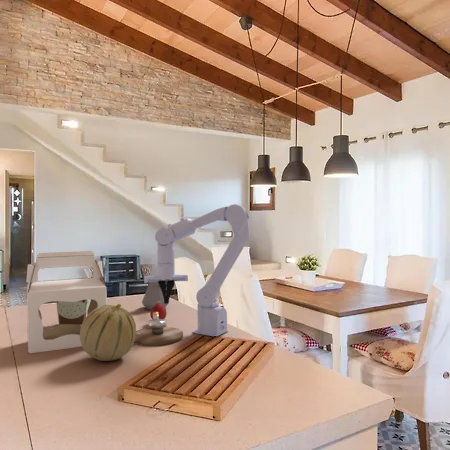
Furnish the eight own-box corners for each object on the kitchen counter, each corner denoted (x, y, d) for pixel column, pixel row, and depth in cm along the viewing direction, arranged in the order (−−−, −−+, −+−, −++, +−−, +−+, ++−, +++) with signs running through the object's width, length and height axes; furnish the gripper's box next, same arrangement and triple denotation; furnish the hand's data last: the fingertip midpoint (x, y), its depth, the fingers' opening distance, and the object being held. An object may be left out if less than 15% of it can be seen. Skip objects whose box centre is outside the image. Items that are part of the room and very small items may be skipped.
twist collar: (167, 327, 129) (167, 321, 129) (149, 328, 128) (149, 322, 128) (163, 317, 143) (163, 311, 143) (147, 318, 142) (147, 312, 142)
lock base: (192, 335, 134) (192, 324, 134) (160, 348, 120) (160, 336, 120) (155, 328, 142) (155, 318, 142) (121, 340, 129) (121, 329, 129)
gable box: (27, 354, 116) (26, 255, 116) (26, 341, 128) (25, 252, 128) (107, 343, 126) (107, 252, 126) (100, 332, 138) (99, 249, 138)
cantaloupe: (79, 354, 116) (78, 301, 116) (132, 348, 121) (132, 297, 121) (80, 372, 102) (80, 312, 102) (140, 364, 107) (140, 307, 107)
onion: (158, 326, 145) (157, 303, 145) (147, 323, 149) (146, 301, 149) (169, 323, 150) (169, 301, 150) (158, 320, 153) (158, 299, 153)
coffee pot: (138, 307, 177) (137, 272, 177) (162, 304, 183) (162, 270, 183) (157, 317, 159) (157, 278, 159) (184, 313, 165) (183, 276, 165)
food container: (94, 321, 154) (94, 294, 153) (87, 325, 147) (87, 297, 147) (63, 320, 155) (62, 293, 155) (54, 324, 149) (54, 297, 148)
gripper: (185, 261, 145) (186, 299, 145) (143, 262, 142) (144, 301, 142) (188, 263, 138) (188, 303, 138) (144, 264, 135) (144, 305, 135)
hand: (166, 303), depth 140 cm, fingers closed
